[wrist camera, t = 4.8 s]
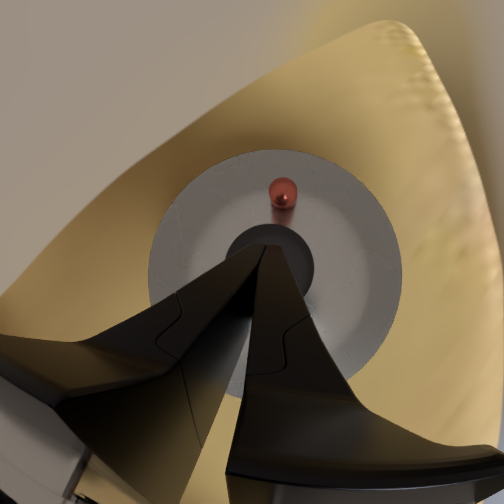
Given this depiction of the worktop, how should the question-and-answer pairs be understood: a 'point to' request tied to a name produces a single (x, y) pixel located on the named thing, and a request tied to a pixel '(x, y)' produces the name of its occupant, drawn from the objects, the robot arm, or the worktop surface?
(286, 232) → the cooker lid
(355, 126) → the worktop surface
